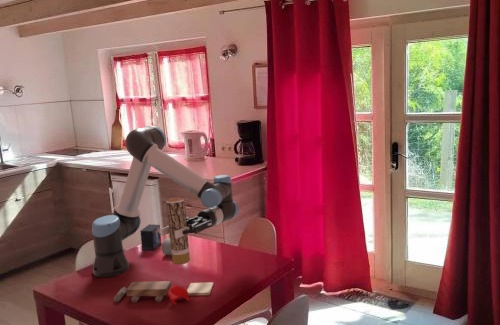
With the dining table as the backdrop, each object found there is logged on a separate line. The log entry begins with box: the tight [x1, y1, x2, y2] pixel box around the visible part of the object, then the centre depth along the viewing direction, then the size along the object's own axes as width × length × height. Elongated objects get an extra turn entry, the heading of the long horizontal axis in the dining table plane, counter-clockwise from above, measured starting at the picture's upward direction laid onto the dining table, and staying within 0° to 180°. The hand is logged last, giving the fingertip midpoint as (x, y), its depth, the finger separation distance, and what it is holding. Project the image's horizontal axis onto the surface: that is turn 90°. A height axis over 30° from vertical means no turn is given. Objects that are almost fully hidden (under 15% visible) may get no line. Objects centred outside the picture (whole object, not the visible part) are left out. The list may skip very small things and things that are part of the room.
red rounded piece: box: [167, 285, 190, 306], centre depth 171 cm, size 8×6×6 cm
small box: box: [139, 223, 163, 252], centre depth 231 cm, size 11×6×10 cm, turn 168°
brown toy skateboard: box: [113, 280, 172, 303], centre depth 177 cm, size 20×8×5 cm, turn 85°
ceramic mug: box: [161, 237, 172, 256], centre depth 221 cm, size 11×8×8 cm
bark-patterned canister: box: [165, 196, 191, 265], centre depth 181 cm, size 7×7×25 cm
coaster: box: [186, 281, 214, 297], centre depth 180 cm, size 9×9×1 cm
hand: (168, 233), depth 177 cm, fingers closed on bark-patterned canister, 7 cm apart
